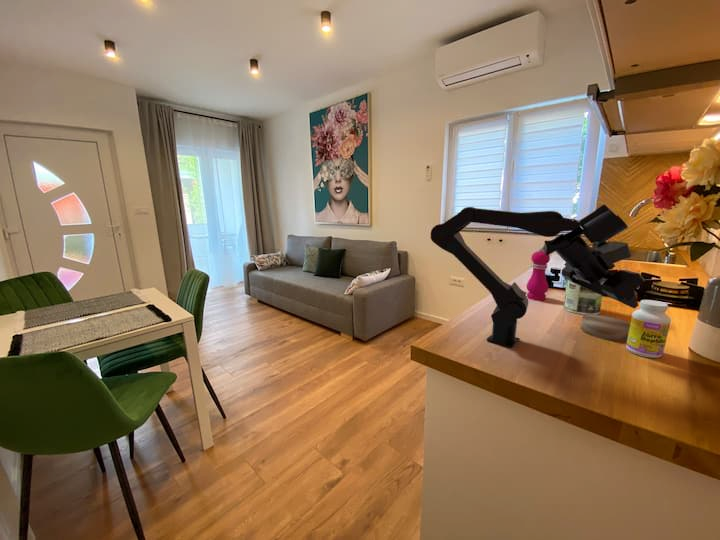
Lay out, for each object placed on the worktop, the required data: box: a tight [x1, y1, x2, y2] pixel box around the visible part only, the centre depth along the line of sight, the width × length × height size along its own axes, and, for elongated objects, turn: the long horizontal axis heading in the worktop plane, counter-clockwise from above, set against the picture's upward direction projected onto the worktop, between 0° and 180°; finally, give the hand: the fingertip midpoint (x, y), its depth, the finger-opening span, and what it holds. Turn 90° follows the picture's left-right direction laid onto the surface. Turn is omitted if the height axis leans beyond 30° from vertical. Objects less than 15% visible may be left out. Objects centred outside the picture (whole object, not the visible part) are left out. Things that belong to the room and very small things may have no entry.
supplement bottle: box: [625, 299, 671, 359], centre depth 71 cm, size 7×7×13 cm
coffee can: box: [562, 279, 604, 316], centre depth 100 cm, size 10×10×14 cm
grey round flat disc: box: [580, 314, 631, 342], centre depth 84 cm, size 11×11×4 cm
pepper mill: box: [526, 246, 551, 301], centre depth 113 cm, size 7×7×20 cm
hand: (619, 300), depth 70 cm, fingers open, 9 cm apart
